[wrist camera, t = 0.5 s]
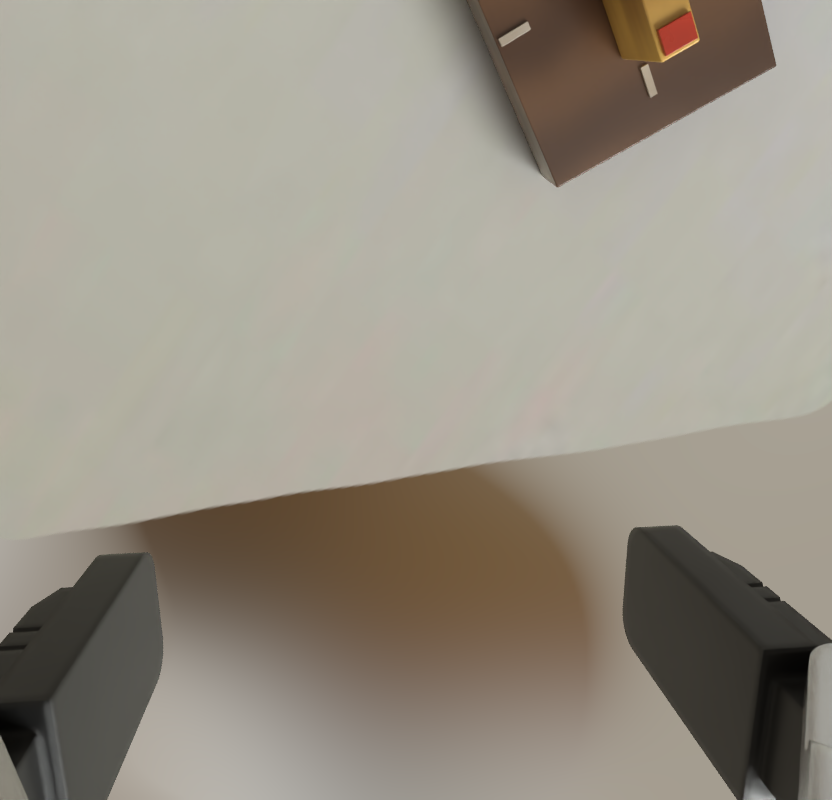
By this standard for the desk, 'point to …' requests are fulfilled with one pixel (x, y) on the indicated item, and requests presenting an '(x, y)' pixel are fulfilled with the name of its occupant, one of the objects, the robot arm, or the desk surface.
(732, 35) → the plate
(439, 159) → the desk surface
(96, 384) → the desk surface
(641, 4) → the handle
